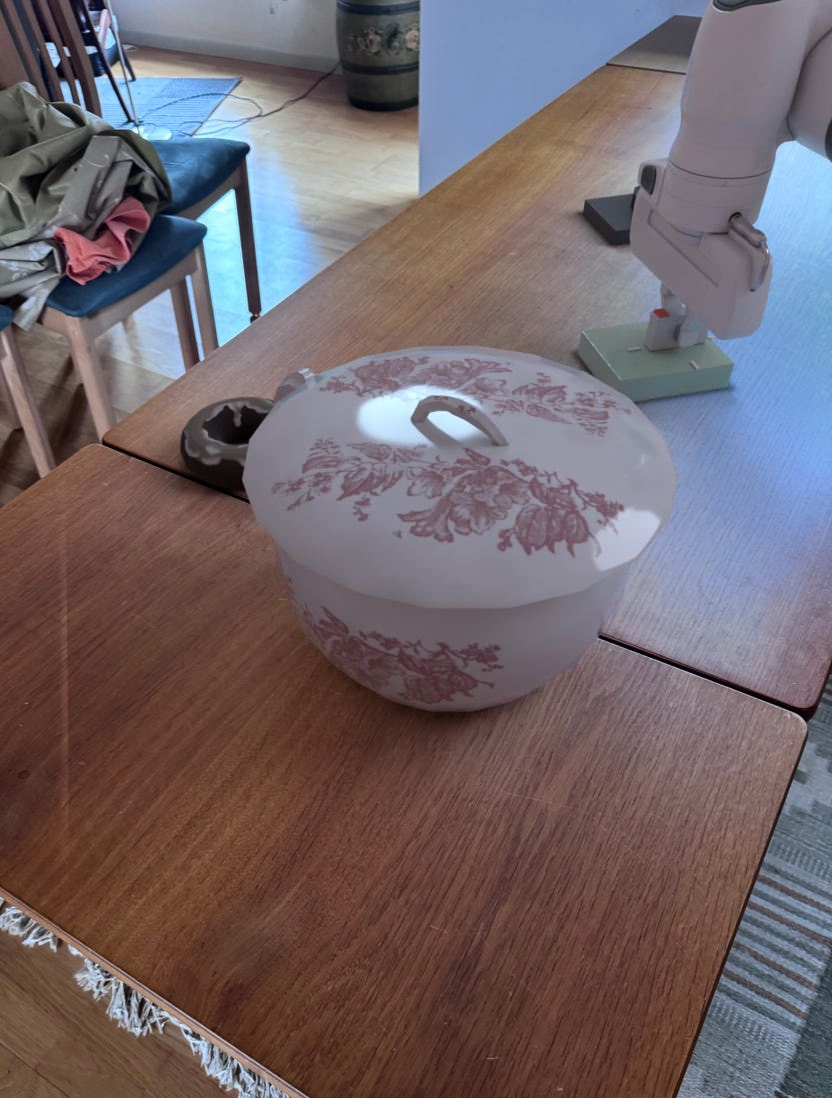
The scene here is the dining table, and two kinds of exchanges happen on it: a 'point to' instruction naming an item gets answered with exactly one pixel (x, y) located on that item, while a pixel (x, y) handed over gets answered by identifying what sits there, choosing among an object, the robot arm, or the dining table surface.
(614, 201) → the button block
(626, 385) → the tap panel
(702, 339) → the grey rectangular block
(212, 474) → the donut
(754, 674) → the dining table surface
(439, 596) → the chamber pot
